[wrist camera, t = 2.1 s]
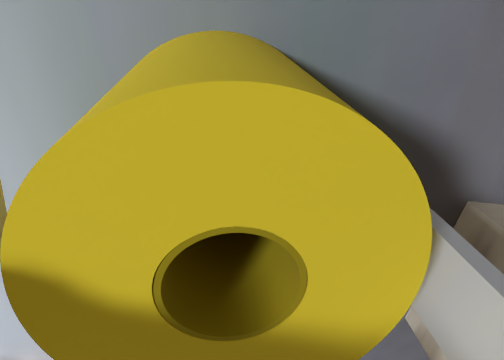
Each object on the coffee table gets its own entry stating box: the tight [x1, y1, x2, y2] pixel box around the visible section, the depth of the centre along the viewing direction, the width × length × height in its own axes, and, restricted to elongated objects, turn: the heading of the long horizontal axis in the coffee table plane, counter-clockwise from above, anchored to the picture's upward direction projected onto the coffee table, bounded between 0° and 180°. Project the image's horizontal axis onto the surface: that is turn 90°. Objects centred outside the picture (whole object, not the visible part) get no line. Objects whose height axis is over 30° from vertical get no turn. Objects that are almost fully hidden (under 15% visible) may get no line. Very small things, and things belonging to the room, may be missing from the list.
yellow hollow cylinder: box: [0, 31, 432, 360], centre depth 12 cm, size 10×10×9 cm
